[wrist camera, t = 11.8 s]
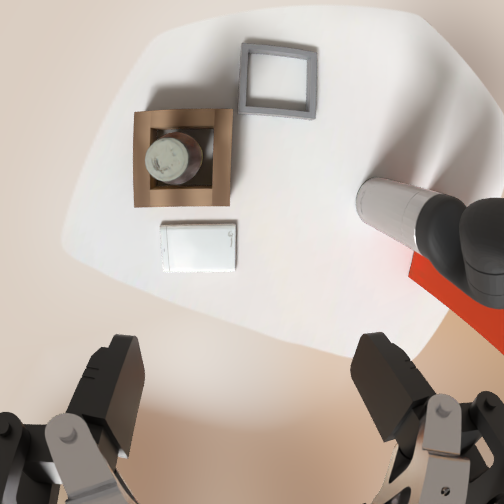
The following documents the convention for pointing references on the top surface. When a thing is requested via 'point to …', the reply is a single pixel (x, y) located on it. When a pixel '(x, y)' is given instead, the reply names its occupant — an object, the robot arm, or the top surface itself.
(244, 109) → the square frame
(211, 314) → the top surface
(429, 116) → the top surface
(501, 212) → the robot arm
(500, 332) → the file binder
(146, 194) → the holder
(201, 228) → the hard drive
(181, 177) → the sauce bottle
